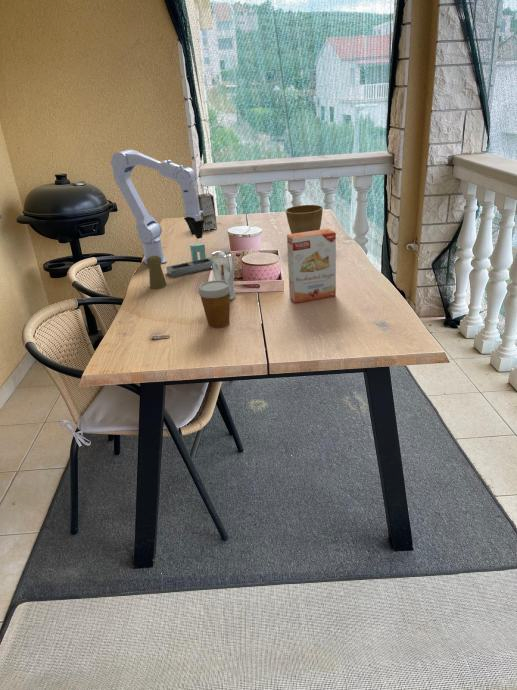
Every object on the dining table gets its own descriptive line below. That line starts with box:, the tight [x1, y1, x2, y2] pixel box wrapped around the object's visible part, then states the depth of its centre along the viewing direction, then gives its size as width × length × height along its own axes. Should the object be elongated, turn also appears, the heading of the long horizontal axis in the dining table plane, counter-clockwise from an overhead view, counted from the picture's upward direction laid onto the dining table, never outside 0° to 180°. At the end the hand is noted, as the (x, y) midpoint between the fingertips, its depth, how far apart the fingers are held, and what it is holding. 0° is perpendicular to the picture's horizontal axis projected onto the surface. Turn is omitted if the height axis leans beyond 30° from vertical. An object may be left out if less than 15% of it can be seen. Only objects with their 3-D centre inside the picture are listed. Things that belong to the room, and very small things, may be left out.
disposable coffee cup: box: [197, 279, 231, 329], centre depth 151 cm, size 10×10×12 cm
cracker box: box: [286, 228, 337, 304], centre depth 161 cm, size 14×6×21 cm, turn 105°
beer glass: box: [211, 250, 237, 301], centre depth 168 cm, size 7×7×15 cm
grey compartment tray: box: [166, 257, 212, 278], centre depth 200 cm, size 6×18×2 cm, turn 116°
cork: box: [146, 256, 167, 290], centre depth 185 cm, size 6×6×11 cm
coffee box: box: [197, 192, 218, 231], centre depth 254 cm, size 9×6×16 cm
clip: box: [189, 242, 207, 261], centre depth 208 cm, size 2×5×7 cm, turn 116°
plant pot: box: [285, 204, 324, 234], centre depth 212 cm, size 15×15×16 cm
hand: (197, 236), depth 203 cm, fingers open, 7 cm apart
